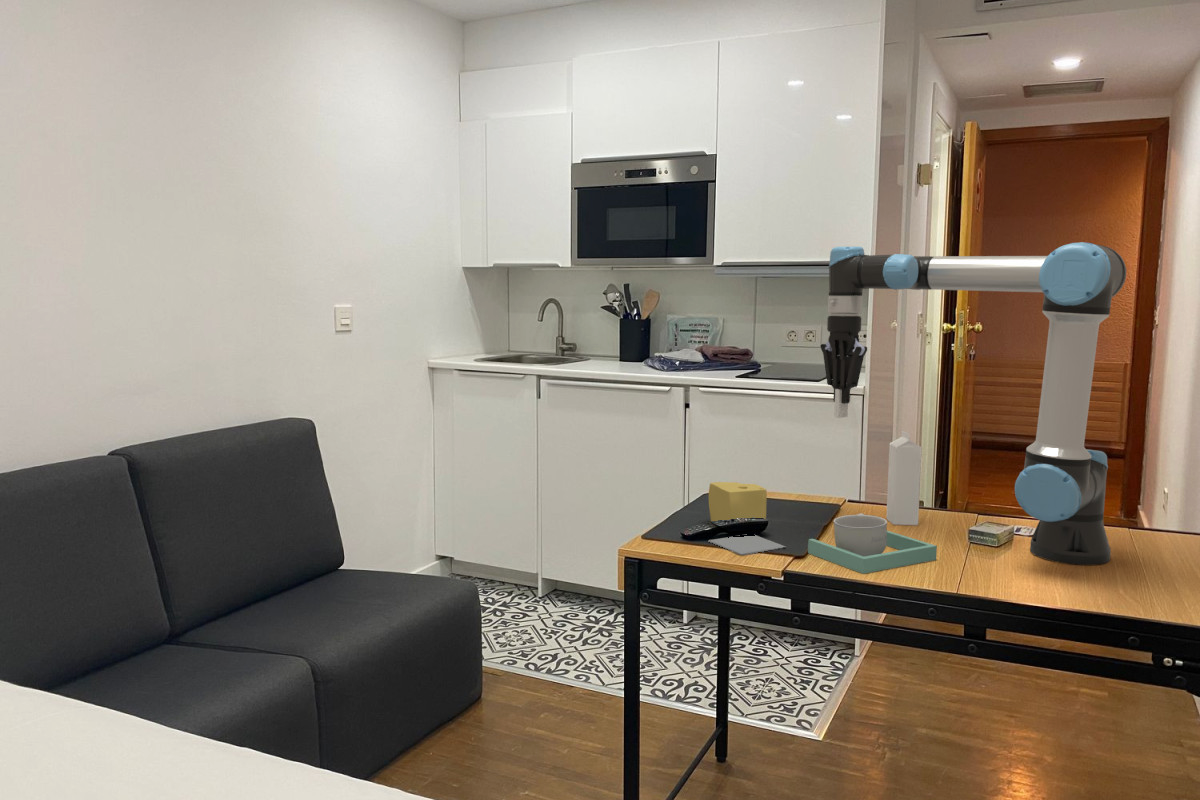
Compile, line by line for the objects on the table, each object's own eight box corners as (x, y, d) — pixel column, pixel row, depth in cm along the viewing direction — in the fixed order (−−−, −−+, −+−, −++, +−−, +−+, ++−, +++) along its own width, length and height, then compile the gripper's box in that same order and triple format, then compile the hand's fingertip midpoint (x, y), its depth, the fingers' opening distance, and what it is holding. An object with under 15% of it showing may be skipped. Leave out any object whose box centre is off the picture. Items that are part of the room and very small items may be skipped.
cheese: (746, 519, 224) (747, 479, 223) (768, 530, 214) (769, 488, 213) (707, 523, 221) (708, 482, 220) (727, 534, 211) (728, 491, 210)
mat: (785, 548, 199) (786, 546, 199) (741, 555, 193) (741, 553, 193) (751, 535, 209) (751, 533, 209) (708, 542, 204) (708, 540, 204)
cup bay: (936, 559, 191) (936, 545, 191) (863, 573, 181) (863, 559, 181) (878, 541, 205) (879, 528, 205) (807, 553, 195) (808, 539, 195)
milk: (910, 519, 225) (915, 430, 223) (918, 525, 219) (923, 434, 217) (885, 518, 225) (889, 430, 223) (892, 525, 219) (897, 433, 217)
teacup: (880, 567, 186) (881, 528, 185) (826, 559, 191) (828, 522, 190) (892, 550, 198) (894, 513, 197) (842, 543, 203) (843, 508, 202)
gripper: (812, 314, 214) (809, 414, 217) (852, 315, 203) (848, 421, 206) (837, 314, 218) (833, 412, 221) (877, 315, 207) (873, 419, 209)
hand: (840, 416), depth 213 cm, fingers closed
